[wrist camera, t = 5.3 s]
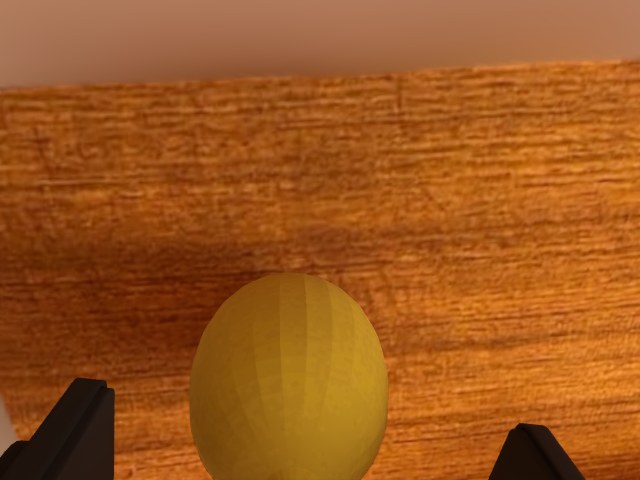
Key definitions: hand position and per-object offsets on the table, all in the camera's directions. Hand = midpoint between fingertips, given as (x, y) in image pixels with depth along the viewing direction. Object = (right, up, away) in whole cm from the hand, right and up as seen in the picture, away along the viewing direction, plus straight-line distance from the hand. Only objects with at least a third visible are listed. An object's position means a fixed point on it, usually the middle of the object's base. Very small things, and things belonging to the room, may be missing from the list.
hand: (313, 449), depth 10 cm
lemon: (-1, +2, +6) cm, 7 cm away
